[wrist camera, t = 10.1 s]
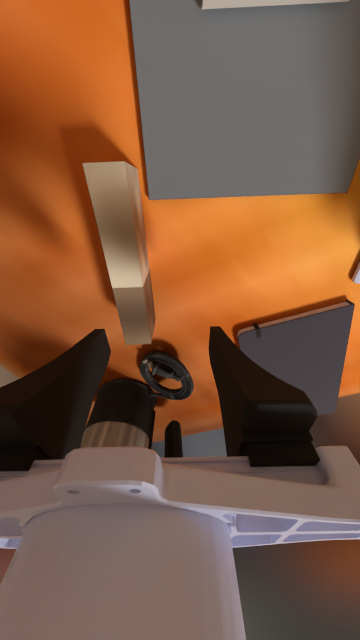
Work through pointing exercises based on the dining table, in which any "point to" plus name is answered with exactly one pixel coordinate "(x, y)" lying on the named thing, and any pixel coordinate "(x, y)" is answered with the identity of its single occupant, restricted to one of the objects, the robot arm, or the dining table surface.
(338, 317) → the notebook
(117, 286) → the long wooden beam
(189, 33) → the slate mat
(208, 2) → the tile
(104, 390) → the milk frother
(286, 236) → the dining table surface
